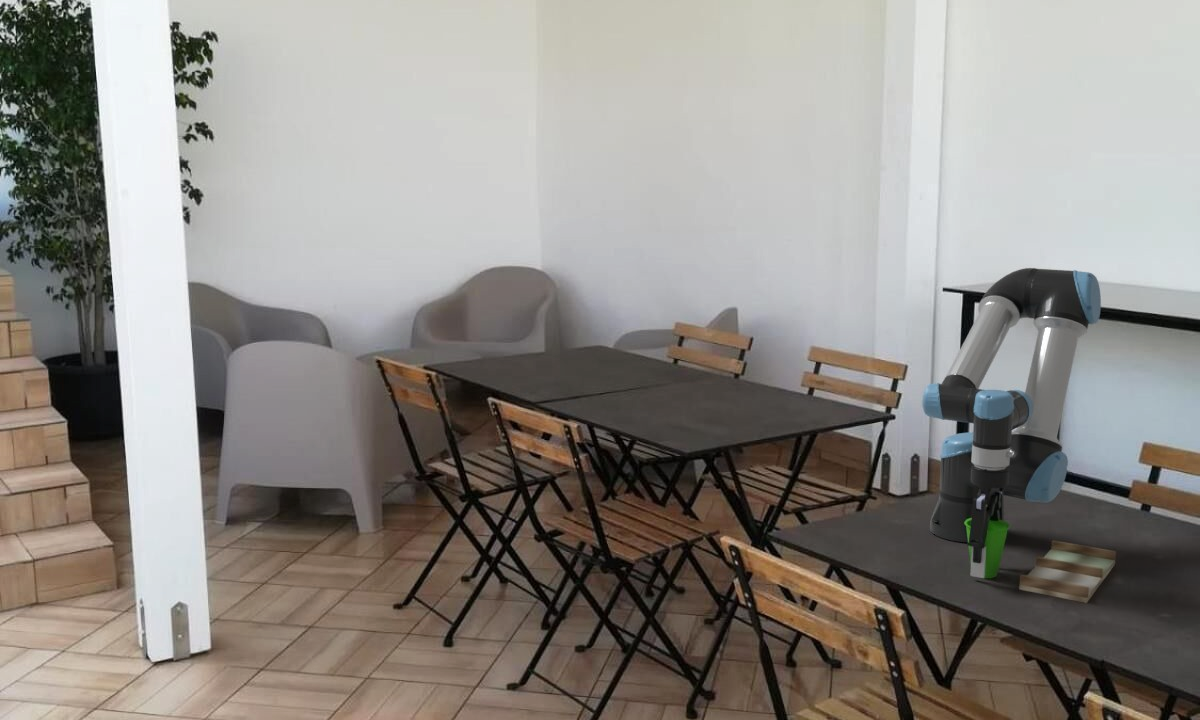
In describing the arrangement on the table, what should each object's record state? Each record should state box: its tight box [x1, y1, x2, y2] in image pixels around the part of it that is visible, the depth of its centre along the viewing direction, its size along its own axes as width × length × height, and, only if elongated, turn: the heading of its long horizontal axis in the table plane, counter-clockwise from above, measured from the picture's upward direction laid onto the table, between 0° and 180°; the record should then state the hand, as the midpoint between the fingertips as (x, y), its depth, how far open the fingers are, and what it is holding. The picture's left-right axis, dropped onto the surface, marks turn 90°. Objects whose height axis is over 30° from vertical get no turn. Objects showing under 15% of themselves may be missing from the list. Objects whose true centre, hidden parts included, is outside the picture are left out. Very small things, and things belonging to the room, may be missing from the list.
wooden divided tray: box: [1018, 539, 1117, 604], centre depth 250 cm, size 13×26×3 cm, turn 146°
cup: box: [964, 518, 1011, 579], centre depth 251 cm, size 9×9×11 cm
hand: (984, 569), depth 252 cm, fingers closed on cup, 9 cm apart
